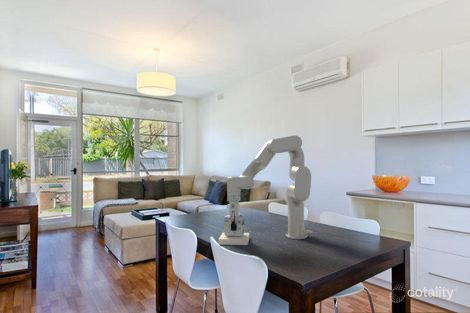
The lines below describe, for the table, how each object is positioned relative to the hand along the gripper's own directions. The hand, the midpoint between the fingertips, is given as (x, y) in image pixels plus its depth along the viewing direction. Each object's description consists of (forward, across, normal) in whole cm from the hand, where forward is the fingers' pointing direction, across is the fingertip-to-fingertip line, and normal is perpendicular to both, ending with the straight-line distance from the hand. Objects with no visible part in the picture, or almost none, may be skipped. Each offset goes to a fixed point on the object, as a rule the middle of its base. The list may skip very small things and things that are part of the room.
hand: (234, 228), depth 157 cm
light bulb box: (+4, 0, 0) cm, 4 cm away
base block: (+7, 0, 0) cm, 7 cm away
